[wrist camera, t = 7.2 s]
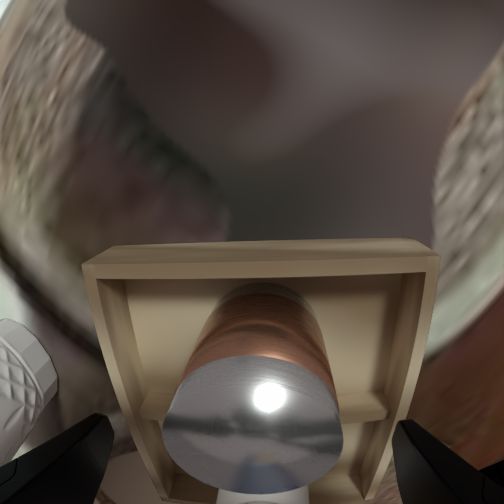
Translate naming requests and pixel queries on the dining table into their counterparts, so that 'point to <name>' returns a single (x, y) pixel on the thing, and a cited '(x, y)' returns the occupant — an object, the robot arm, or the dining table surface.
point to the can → (256, 396)
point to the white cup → (21, 385)
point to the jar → (264, 497)
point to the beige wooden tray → (329, 318)
